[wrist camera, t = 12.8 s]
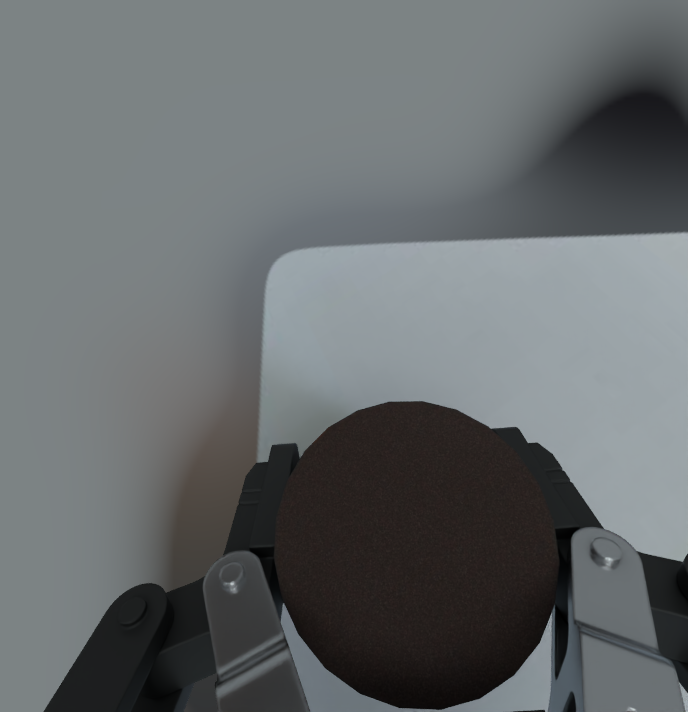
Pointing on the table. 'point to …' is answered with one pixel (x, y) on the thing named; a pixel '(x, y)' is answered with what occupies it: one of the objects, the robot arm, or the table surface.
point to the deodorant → (416, 555)
